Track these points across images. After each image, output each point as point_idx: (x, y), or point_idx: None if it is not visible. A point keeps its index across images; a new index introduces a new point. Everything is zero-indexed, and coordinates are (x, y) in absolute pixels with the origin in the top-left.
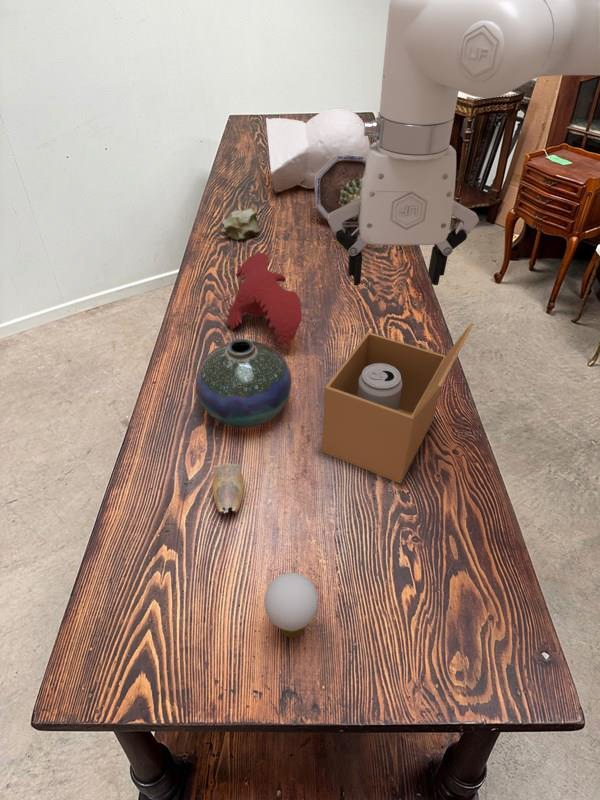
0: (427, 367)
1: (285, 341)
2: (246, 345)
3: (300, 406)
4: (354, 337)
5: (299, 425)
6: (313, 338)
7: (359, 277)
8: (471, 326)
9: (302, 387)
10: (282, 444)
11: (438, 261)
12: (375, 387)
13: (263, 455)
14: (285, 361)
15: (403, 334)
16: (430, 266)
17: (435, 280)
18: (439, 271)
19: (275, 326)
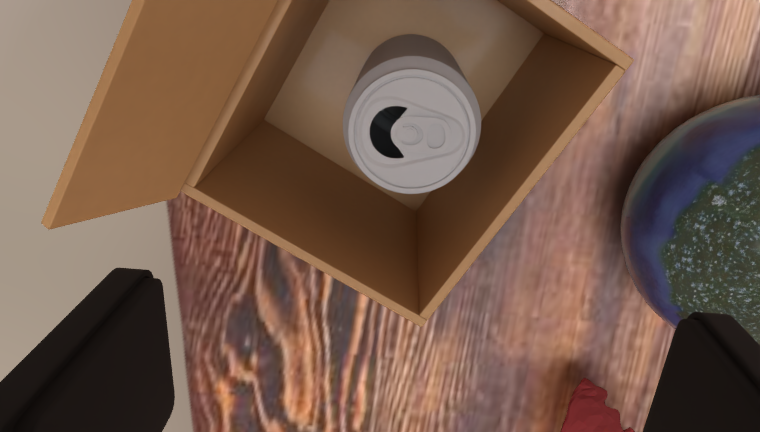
0: (251, 189)
1: (591, 386)
2: None
3: (574, 191)
4: (398, 404)
5: (590, 127)
6: (496, 409)
7: (723, 351)
8: (51, 207)
9: (556, 254)
10: (648, 64)
11: (31, 396)
12: (443, 76)
13: (705, 28)
14: (656, 274)
15: (281, 403)
16: (144, 430)
17: (125, 284)
18: (65, 328)
19: (620, 429)
